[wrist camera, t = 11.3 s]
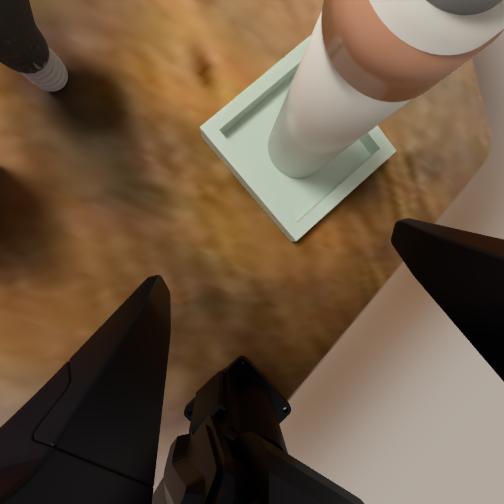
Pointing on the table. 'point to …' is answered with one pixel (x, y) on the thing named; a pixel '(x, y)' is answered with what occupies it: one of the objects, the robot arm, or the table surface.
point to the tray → (263, 170)
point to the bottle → (372, 70)
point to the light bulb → (28, 47)
